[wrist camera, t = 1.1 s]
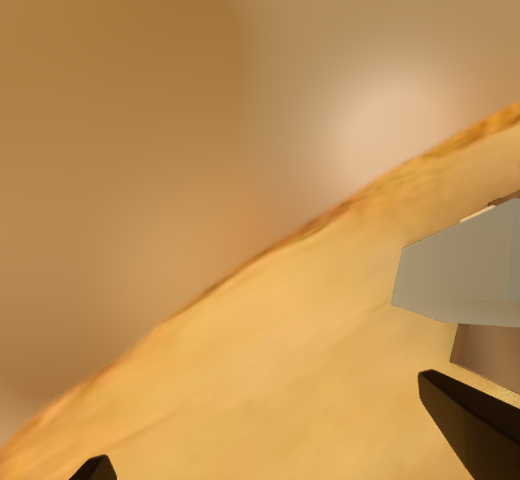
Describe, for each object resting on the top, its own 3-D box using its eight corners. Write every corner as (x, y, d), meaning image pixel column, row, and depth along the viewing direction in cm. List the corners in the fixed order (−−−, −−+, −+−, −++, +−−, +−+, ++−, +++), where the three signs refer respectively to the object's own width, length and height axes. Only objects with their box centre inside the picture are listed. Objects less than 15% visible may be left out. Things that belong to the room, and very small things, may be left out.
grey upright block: (451, 262, 23) (611, 221, 12) (442, 322, 21) (615, 334, 11) (401, 246, 23) (514, 194, 13) (390, 304, 22) (506, 299, 11)
